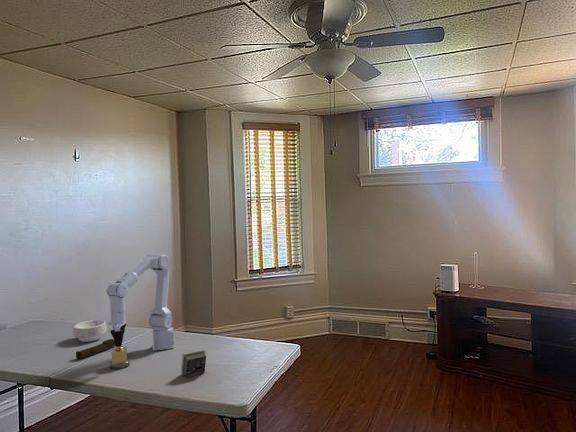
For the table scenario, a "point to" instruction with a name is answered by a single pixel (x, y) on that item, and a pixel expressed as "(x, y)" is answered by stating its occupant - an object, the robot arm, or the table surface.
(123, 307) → the robot arm
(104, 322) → the white bowl
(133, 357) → the table surface
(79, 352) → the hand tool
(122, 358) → the socket
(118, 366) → the ratchet
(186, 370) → the electrical switch
